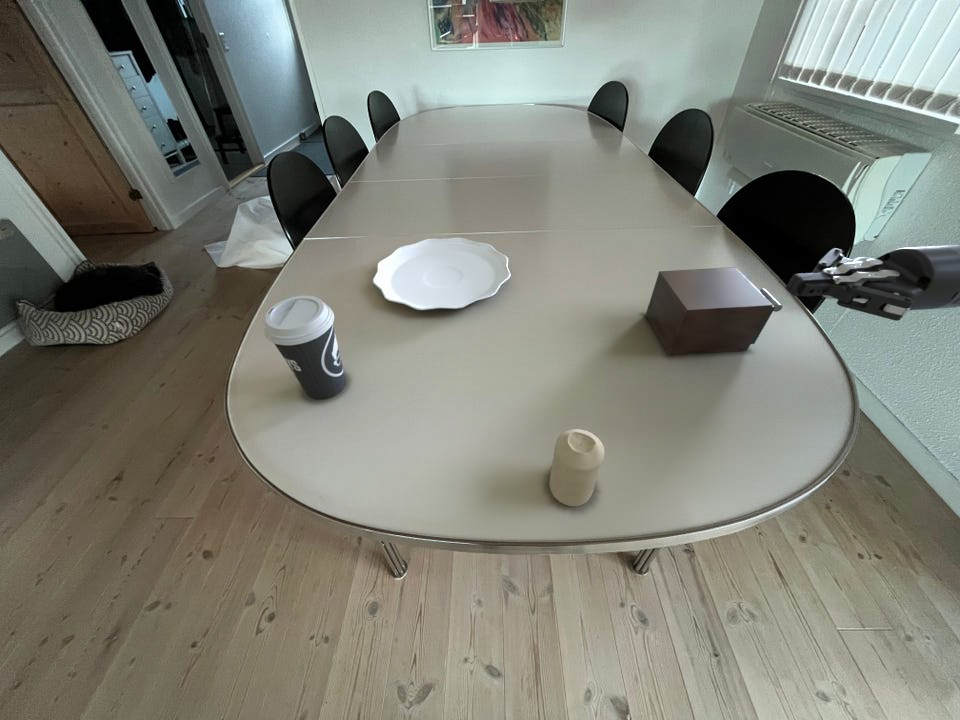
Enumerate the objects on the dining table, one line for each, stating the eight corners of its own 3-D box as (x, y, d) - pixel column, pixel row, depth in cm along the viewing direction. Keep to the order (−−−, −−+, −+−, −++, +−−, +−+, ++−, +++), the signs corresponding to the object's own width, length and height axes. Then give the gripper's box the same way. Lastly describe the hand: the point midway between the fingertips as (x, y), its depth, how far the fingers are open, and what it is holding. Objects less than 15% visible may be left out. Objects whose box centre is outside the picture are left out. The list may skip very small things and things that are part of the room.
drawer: (744, 307, 77) (762, 271, 72) (776, 342, 70) (799, 305, 64) (659, 312, 77) (671, 276, 72) (682, 348, 69) (698, 311, 64)
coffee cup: (323, 358, 71) (294, 286, 61) (367, 374, 68) (344, 301, 58) (282, 395, 65) (242, 322, 55) (328, 415, 62) (295, 341, 52)
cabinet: (715, 310, 78) (734, 266, 72) (747, 350, 70) (773, 305, 63) (645, 314, 78) (659, 271, 71) (669, 355, 70) (687, 310, 63)
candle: (594, 473, 54) (608, 426, 47) (590, 511, 50) (605, 467, 43) (552, 464, 55) (560, 417, 48) (546, 501, 51) (553, 456, 44)
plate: (536, 288, 86) (537, 278, 84) (410, 337, 75) (408, 327, 73) (466, 235, 104) (466, 226, 103) (357, 269, 94) (355, 260, 92)
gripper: (909, 224, 51) (774, 231, 51) (1015, 280, 42) (850, 289, 41) (871, 276, 57) (749, 282, 56) (958, 336, 47) (811, 344, 47)
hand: (792, 285), depth 49 cm, fingers closed
